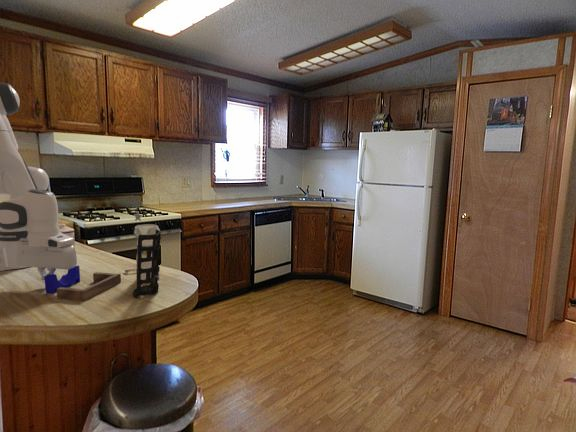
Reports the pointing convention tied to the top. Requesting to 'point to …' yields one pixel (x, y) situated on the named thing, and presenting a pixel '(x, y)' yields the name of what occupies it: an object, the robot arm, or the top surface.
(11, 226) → the robot arm
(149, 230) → the water bottle
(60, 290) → the bracket
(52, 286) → the cable clip
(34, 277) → the top surface
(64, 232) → the teacup with lid
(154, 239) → the holder
